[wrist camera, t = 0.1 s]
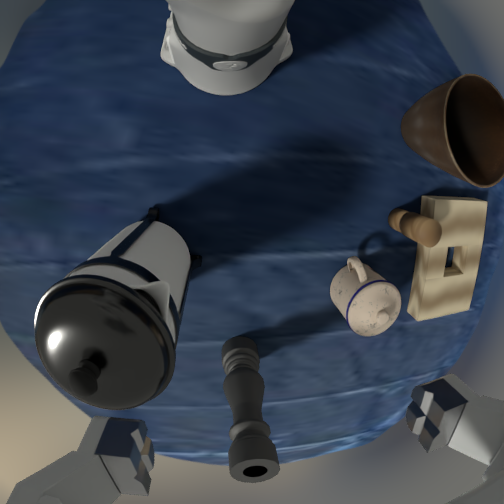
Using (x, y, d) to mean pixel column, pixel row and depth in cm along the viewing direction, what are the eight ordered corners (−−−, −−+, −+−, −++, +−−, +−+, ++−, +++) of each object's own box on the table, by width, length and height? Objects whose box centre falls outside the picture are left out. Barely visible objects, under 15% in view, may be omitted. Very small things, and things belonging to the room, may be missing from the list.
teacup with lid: (381, 296, 52) (414, 328, 41) (336, 318, 52) (361, 356, 41) (365, 236, 48) (402, 259, 37) (315, 259, 48) (341, 289, 37)
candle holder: (263, 342, 52) (292, 461, 28) (248, 368, 54) (267, 485, 30) (229, 331, 51) (240, 453, 27) (216, 358, 52) (219, 479, 29)
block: (421, 195, 47) (435, 199, 43) (473, 197, 48) (487, 201, 44) (407, 311, 54) (417, 321, 50) (457, 301, 55) (468, 309, 51)
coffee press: (105, 199, 42) (-32, 269, 14) (209, 215, 45) (193, 320, 16) (100, 303, 47) (18, 437, 19) (193, 320, 50) (177, 481, 21)
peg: (387, 206, 47) (422, 220, 38) (407, 206, 47) (443, 219, 38) (386, 230, 48) (419, 248, 39) (405, 230, 49) (440, 246, 39)
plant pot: (455, 166, 46) (519, 177, 31) (391, 182, 46) (455, 198, 31) (438, 86, 41) (502, 75, 26) (370, 92, 41) (431, 73, 26)
